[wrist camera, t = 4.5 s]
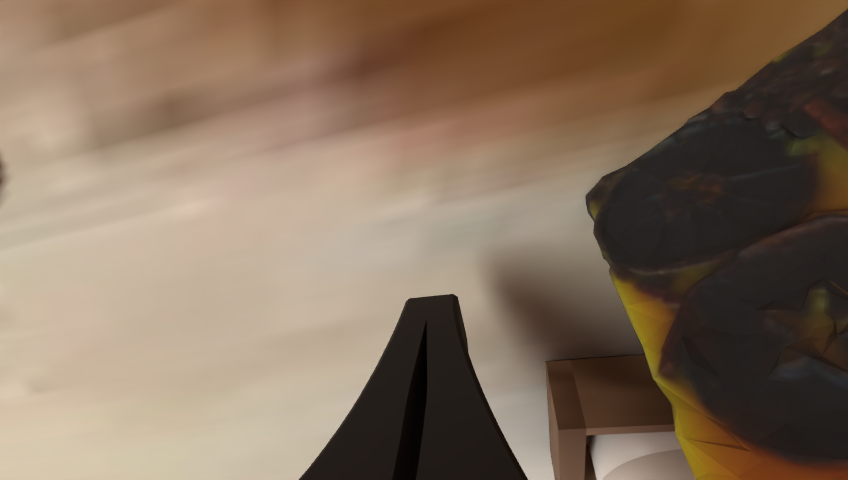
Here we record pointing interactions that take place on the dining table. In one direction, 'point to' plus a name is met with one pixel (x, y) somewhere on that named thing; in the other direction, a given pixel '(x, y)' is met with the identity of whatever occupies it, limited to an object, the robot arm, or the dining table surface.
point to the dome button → (639, 457)
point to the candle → (745, 268)
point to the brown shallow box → (600, 407)
